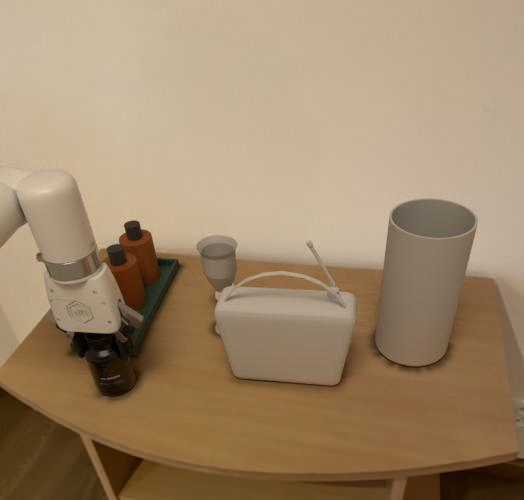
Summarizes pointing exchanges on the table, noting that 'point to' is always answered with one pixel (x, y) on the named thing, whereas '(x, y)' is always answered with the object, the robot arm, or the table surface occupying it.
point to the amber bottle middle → (126, 276)
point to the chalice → (218, 261)
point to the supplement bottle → (108, 364)
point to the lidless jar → (218, 294)
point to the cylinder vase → (423, 278)
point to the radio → (287, 330)
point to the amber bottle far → (141, 251)
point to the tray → (152, 300)
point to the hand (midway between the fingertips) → (106, 353)
